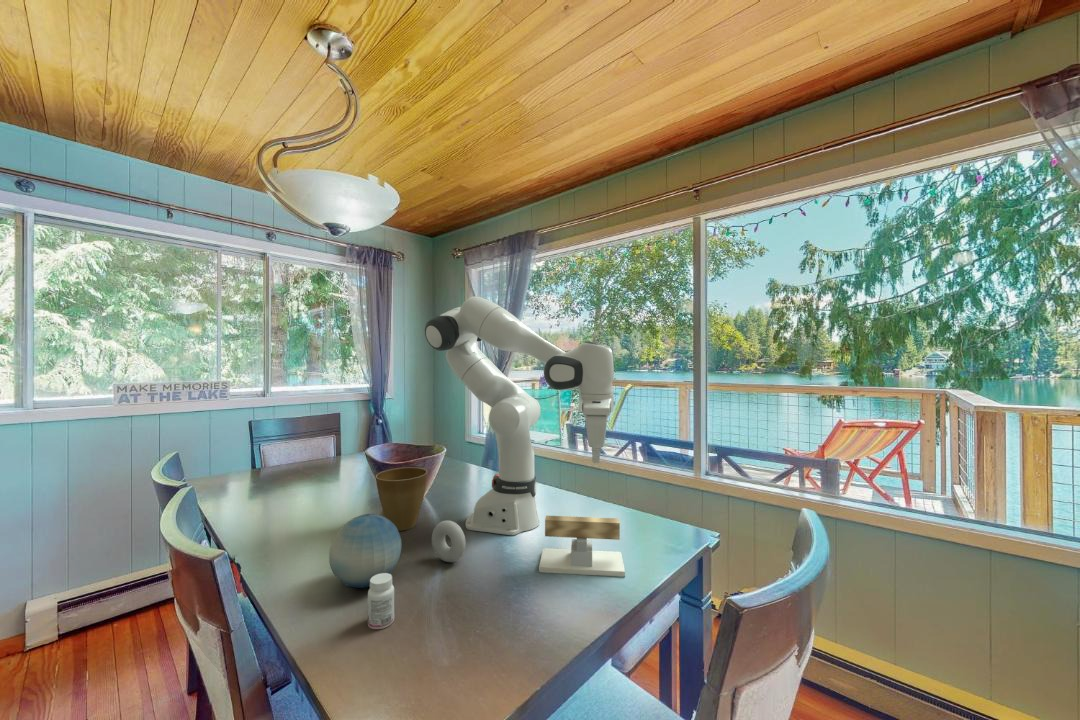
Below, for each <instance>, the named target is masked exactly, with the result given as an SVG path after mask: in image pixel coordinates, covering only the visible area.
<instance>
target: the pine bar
mask: <svg viewBox="0 0 1080 720" xmlns="http://www.w3.org/2000/svg"><path fill="white" fill-rule="evenodd" d="M620 523H621V522H620V519H619V518H617V517H616V518H614V517H591V516H572V515H571V516H570V515H569V516H567V515H545V519H544V537H549V538H551V537H552V538H553V537H554V538H569V539H570V538H572V539H577V538H587V539H590V540H592V539H593V540H613V541H615V540H616V541H617V540H618V541H620V540H621V539H620V538H621V537H620V535H621V534H620V533H621V531H620V529H621V527H620V526H621V525H620Z"/></svg>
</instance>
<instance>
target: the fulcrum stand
mask: <svg viewBox="0 0 1080 720" xmlns="http://www.w3.org/2000/svg"><path fill="white" fill-rule="evenodd" d="M592 541H593V540H592V539H588V538H572V539H571V547H570V548H571V549H565V548H563V549H562V548H549V547H548V548H546V547H543V548H542V551H541V557H540V560H539V566H538V573H545V574H546V573H549V574H564V575H565V574H569V575H585V576H587V575H588V576H599V577H600V576H602V577H620V578H621V577H623V578H625V577H626V571H625V570H626V569H625V565H624V560H623V555H622V552H621V551H610V550H609V551H608V550H607V551H606V550H603V551H602V550H593V542H592Z"/></svg>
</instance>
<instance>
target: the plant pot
mask: <svg viewBox="0 0 1080 720" xmlns="http://www.w3.org/2000/svg"><path fill="white" fill-rule="evenodd" d="M427 479H428V470H427V469H425V468H422V467H410V466H409V467H398V468H397V467H396V468H391V469H386V470H383V471H380V472H378V473H377V474H376V475H375V484H376V489H377V492H378V493H377V494H378V498H379V502H380V506H381V509H382V511H383V514H384V515H383V516H384V517H385V518H387V519H388V520H390V521H391V522H392V523H393V524H394V525H395V526H396V528H397V529H398V532H400V531H406V530H410V529H412V528H414V527H416V523H417V522H418V521H417V520H418V518H419V515H420V511H421V508H422V505H423V501H424V498H425V497H424V496H425V492H426V487H427Z"/></svg>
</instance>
